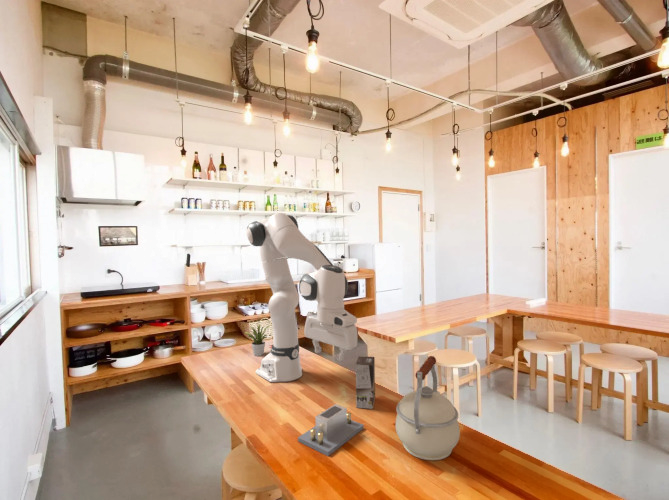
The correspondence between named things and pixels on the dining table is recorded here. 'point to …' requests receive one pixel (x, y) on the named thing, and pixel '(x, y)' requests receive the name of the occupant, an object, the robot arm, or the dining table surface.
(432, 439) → the kettle
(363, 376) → the coffee box
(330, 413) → the block
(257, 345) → the house plant
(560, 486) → the dining table surface
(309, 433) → the pin tray
